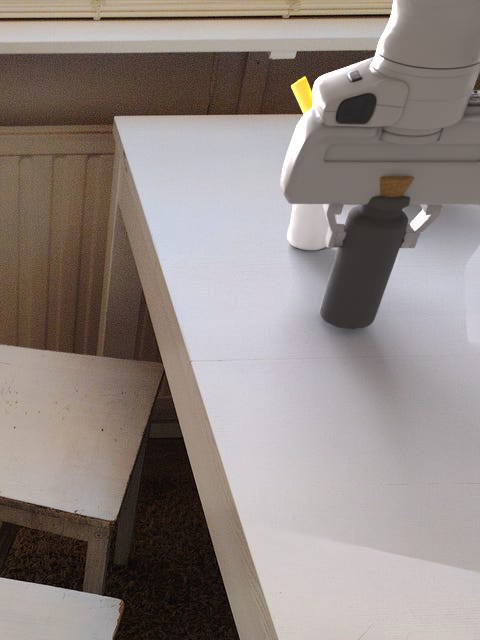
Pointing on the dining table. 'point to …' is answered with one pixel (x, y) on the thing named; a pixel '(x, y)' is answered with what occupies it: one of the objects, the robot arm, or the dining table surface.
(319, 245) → the white vase
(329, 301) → the bottle
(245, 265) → the dining table surface
